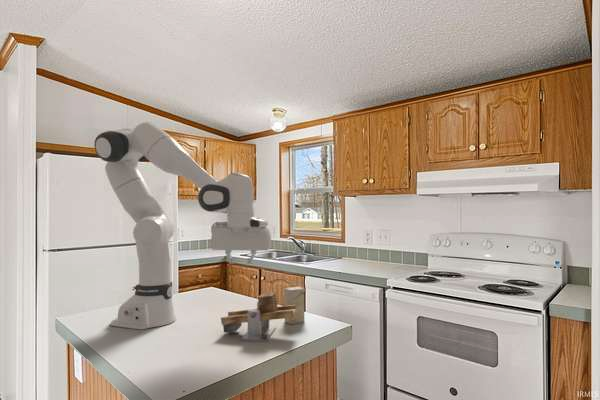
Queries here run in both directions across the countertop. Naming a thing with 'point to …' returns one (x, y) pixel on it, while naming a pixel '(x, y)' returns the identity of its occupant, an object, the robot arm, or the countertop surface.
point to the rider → (268, 302)
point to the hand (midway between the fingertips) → (241, 263)
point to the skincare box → (295, 303)
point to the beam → (238, 317)
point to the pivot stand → (257, 327)
